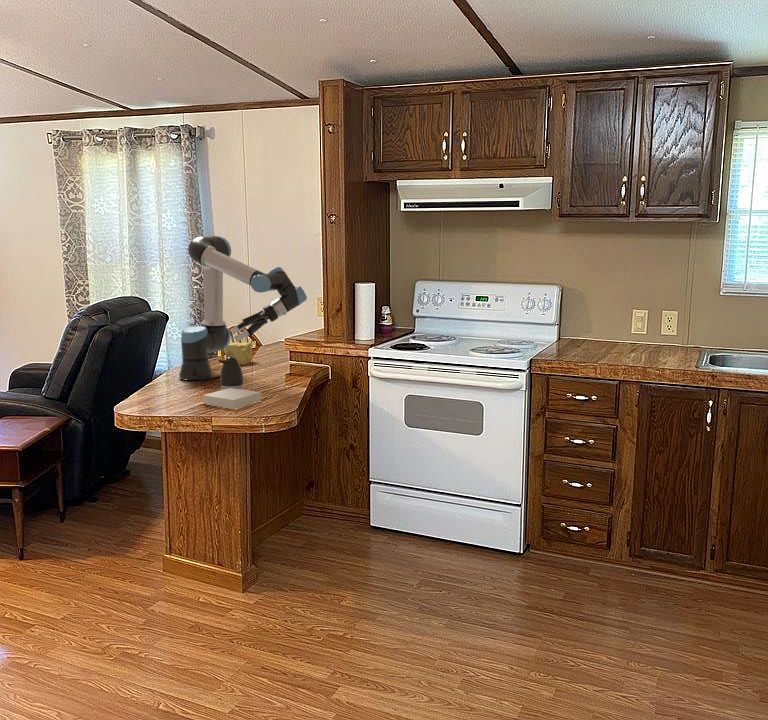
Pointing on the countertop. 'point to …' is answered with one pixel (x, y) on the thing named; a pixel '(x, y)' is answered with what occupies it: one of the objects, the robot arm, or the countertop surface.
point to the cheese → (240, 352)
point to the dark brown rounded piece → (231, 374)
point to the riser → (231, 398)
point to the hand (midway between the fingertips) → (233, 336)
